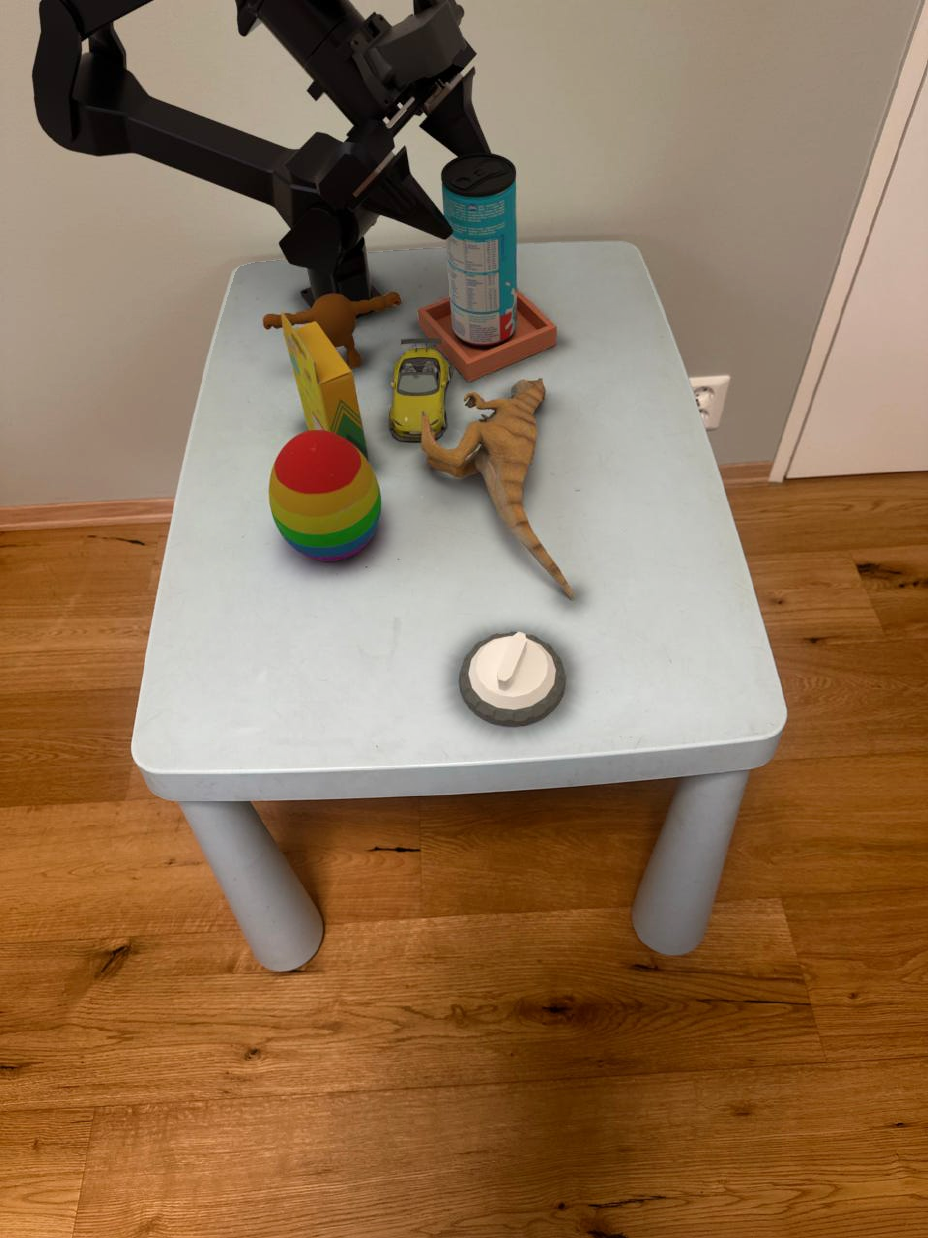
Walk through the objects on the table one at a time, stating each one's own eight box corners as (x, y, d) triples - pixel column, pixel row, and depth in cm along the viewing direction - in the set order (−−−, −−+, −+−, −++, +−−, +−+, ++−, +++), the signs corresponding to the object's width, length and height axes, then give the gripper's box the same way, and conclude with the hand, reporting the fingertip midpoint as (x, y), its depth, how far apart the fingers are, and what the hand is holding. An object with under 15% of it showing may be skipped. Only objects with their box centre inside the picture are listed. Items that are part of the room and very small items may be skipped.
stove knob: (442, 707, 63) (440, 684, 60) (481, 624, 67) (479, 599, 64) (546, 739, 61) (547, 717, 59) (579, 652, 65) (581, 628, 63)
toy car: (386, 442, 78) (382, 415, 75) (396, 364, 84) (392, 336, 81) (446, 442, 78) (444, 414, 75) (452, 363, 83) (449, 335, 81)
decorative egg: (286, 584, 70) (254, 492, 62) (278, 505, 74) (248, 410, 66) (393, 564, 70) (376, 471, 62) (379, 487, 75) (361, 391, 67)
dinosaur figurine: (437, 391, 81) (573, 394, 80) (411, 596, 69) (573, 602, 68) (433, 327, 76) (579, 330, 75) (404, 537, 63) (580, 543, 62)
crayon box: (372, 467, 76) (350, 352, 67) (338, 480, 76) (312, 366, 66) (337, 413, 80) (312, 297, 71) (305, 426, 80) (276, 310, 70)
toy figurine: (404, 338, 86) (395, 273, 80) (411, 363, 84) (403, 298, 78) (275, 361, 85) (257, 297, 79) (279, 388, 83) (261, 324, 77)
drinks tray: (419, 327, 87) (417, 308, 85) (503, 293, 89) (503, 274, 87) (468, 382, 82) (467, 364, 80) (556, 344, 84) (557, 326, 82)
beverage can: (529, 336, 84) (531, 176, 72) (473, 360, 83) (465, 201, 70) (495, 302, 87) (490, 144, 75) (440, 325, 86) (427, 167, 74)
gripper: (323, 17, 58) (491, 213, 64) (445, -92, 68) (581, 87, 74) (247, 125, 67) (401, 289, 73) (365, 15, 77) (493, 167, 82)
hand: (472, 204), depth 75 cm, fingers open, 9 cm apart
